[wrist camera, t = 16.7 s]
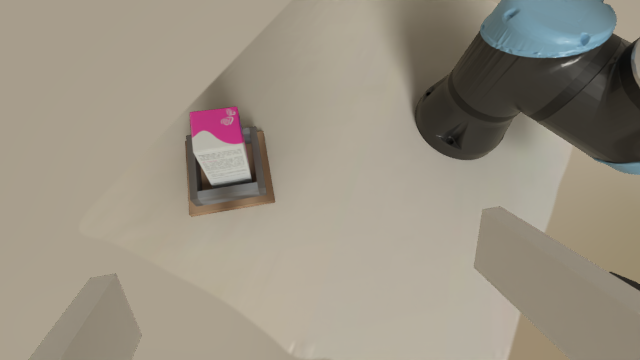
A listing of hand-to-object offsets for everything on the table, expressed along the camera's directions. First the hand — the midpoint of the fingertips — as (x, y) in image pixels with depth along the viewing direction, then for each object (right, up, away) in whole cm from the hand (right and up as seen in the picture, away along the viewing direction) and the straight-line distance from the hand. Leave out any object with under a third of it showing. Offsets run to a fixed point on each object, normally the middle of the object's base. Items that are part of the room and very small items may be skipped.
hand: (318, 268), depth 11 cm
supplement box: (-13, +5, +35) cm, 38 cm away
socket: (-14, +4, +35) cm, 38 cm away
